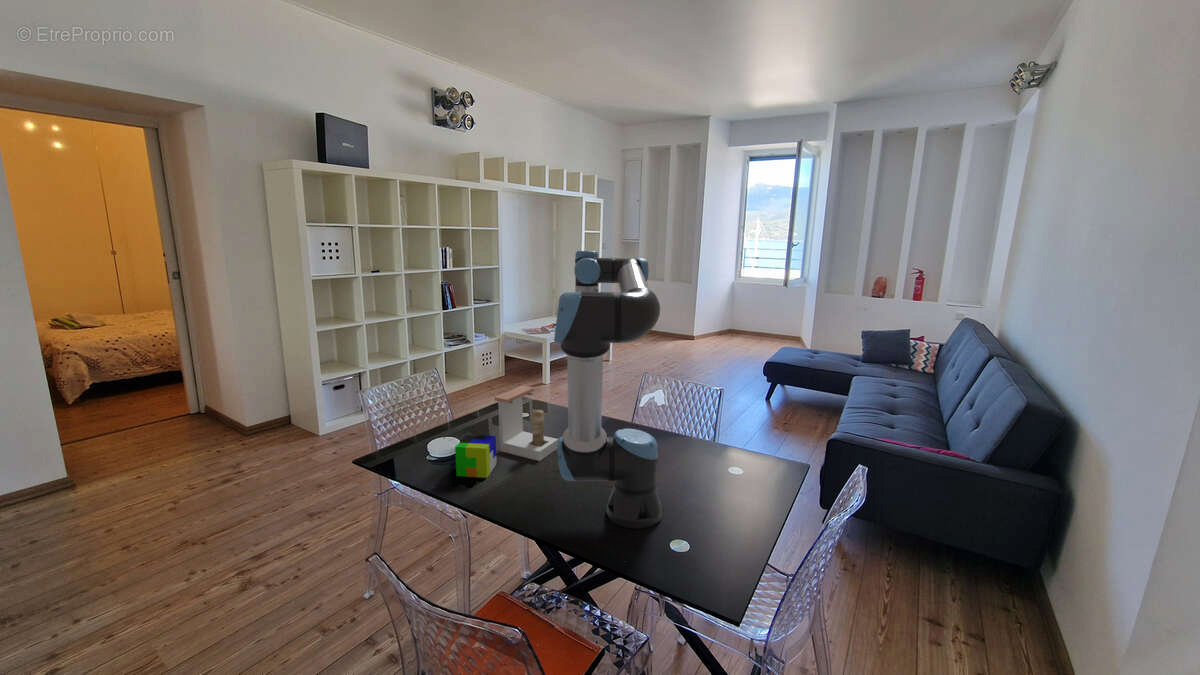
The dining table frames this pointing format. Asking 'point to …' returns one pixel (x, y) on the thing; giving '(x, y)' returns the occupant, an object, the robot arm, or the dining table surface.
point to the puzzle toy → (476, 456)
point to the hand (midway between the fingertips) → (586, 362)
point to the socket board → (529, 446)
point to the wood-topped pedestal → (511, 412)
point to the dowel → (538, 427)
